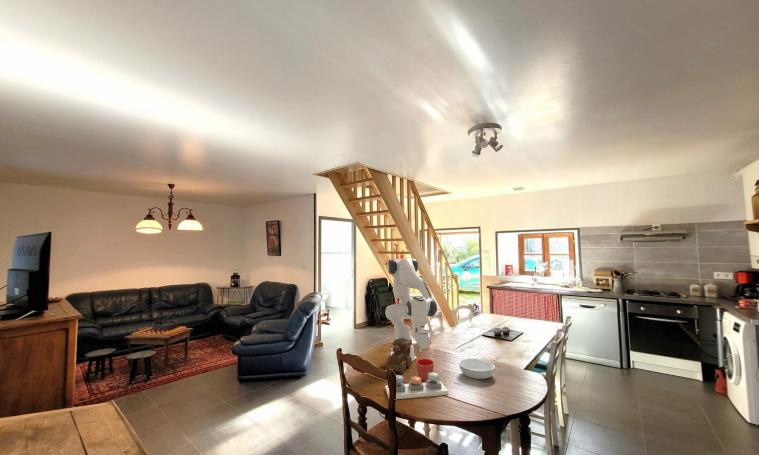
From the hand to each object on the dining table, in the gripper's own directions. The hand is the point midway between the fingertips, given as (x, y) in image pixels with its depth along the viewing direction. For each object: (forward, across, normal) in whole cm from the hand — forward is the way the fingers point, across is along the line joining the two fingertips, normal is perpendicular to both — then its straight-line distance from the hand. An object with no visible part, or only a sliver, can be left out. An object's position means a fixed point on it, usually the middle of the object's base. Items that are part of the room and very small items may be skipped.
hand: (420, 351), depth 170 cm
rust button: (+18, +3, -3) cm, 19 cm away
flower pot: (+21, -14, +6) cm, 26 cm away
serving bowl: (+21, -12, +39) cm, 46 cm away
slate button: (+17, +3, -13) cm, 21 cm away
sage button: (+17, +2, +7) cm, 18 cm away
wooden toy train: (+22, -30, -6) cm, 38 cm away
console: (+21, +3, -3) cm, 21 cm away
